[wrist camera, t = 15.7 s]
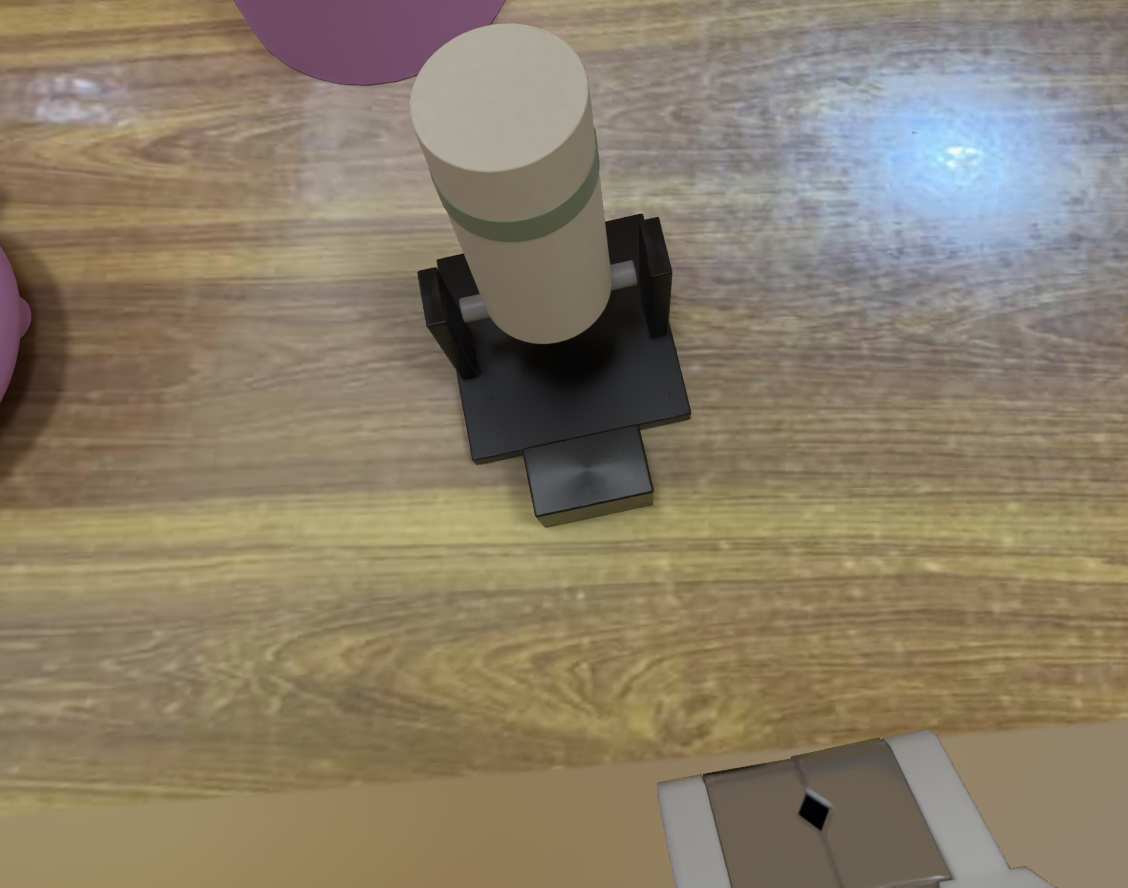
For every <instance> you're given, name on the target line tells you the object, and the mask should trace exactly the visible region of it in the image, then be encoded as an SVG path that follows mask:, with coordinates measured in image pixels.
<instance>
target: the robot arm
mask: <svg viewBox="0 0 1128 888" xmlns="http://www.w3.org/2000/svg"><path fill="white" fill-rule="evenodd" d="M657 791H658V801H659V806H660V811H661V815H662V821H663V826H664V831H665V836H666V842H667V847H668V851H669V857H670V861H671V867H672V872H673V877H674V882H675V887H676V888H1057V887H1055V886H1053V885H1052V884H1051V883H1049V882H1048V881H1046V880H1045V879H1044V878H1042V877H1041V876H1039V875H1038V874H1036V873H1035V872H1033V871H1032V870H1030V869H1029V868H1028V867H1026V866H1024V867H1017V868H1010V866H1009V865H1008V863H1007V861H1006V859H1005V857H1004V855H1003V854H1002V852H1001V850H1000V848H999V846H998V845H997V843H996V841H995V839H994V837H993V836H992V834H991V832H990V830H989V828H988V827H987V825H986V823H985V821H984V819H983V817H982V816H981V814H980V812H979V810H978V809H977V806H976V805H975V803H974V801H973V799H972V798H971V796H970V794H969V792H968V790H967V788H966V787H965V785H964V783H963V781H962V779H961V778H960V776H959V774H958V772H957V770H956V768H955V767H954V765H953V763H952V761H951V759H950V758H949V756H948V754H947V752H946V750H945V748H944V747H943V745H942V743H941V741H940V739H939V738H938V736H937V735H935V734H934V733H933V732H932V731H931V730H930V729H923V730H919V731H914V732H910V733H905V734H901V735H896V736H891V737H887V738H883V739H880V738H874V739H870V740H865V741H861V742H856V743H851V744H847V745H842V746H837V747H833V748H828V749H824V750H819V751H814V752H810V753H805V754H801V755H796V756H792V757H791V759H786V760H779V761H774V762H768V763H762V764H757V765H751V766H745V767H740V768H734V769H728V770H723V771H717V772H712V773H706V774H703V777H702V775H701V774H699V775H694V776H689V777H684V778H679V779H674V780H669V781H663V782H658V783H657Z"/></svg>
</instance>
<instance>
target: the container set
mask: <svg viewBox="0 0 1128 888" xmlns="http://www.w3.org/2000/svg"><path fill="white" fill-rule="evenodd" d="M234 2H235V4H236V5H237V7H238V8H239V10H240V12H241V13H242V15H243V16H244V18H245V19H246V21H247V23H248V24H249V26H250V27H251V29H252V30H253V32H254V34H255V35H256V36H257V37H258V38H259V39H260V41H261V42H262V43H263V44H264V45H265V47H266V48H267V49H268V50H269V51H270V52H271V53H272V54H274V55H275V56H276V57H278V58H279V59H280V60H282V61H283V62H284V63H286V64H287V65H288V66H290V67H292V68H294V69H296V70H298V71H300V72H303V73H305V74H307V75H309V76H311V77H314V78H318V79H322V80H326V81H330V82H335V83H339V84H357V85H372V84H379V83H387V82H394V81H399V80H402V79H405V78H408V77H412V76H415V75H418V74H419V72H420V70H421V68H422V67H423V66H424V64H425V63H426V62H427V60H428V59H429V58H430V57H431V56H432V55H433V54H434V53H435V52H436V51H437V50H438V49H439V48H441V47H442V46H443V45H444V44H446V43H447V42H449V41H450V40H452V39H454V38H455V37H457V36H459V35H461V34H463V33H466V32H468V31H471V30H473V29H477V28H480V27H483V26H488V25H489V24H490V23H491V22H492V21H493V20H494V18H495V16H496V15H497V13H498V11H499V10H500V8H501V7H502V5H503V3H504V2H505V0H234Z"/></svg>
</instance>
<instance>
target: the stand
mask: <svg viewBox="0 0 1128 888" xmlns="http://www.w3.org/2000/svg"><path fill="white" fill-rule="evenodd" d="M605 227H606V236H607V244H608V253H609V261H610V265H613V264H617V263H622V262H626V261H631V260H632V261H633V262H634V265H635V269H636V274H637V280H638V284H637V285H634V286H630V287H625V288H621V289H616V290H612V291H611V293H610V296H609V300H608V302H607V305H606V307H605V309H604V310H603V312H602V314H601V315H600V316H599V318H598V319H597V320H596V321H595V322H594V323H593V324H592V325H591V326H590V327H589V328H587V329H586V330H585V331H583V332H582V333H580V334H578V335H577V336H575V337H572V338H570V339H568V340H564V341H561V342H556V343H550V344H537V343H530V342H525V341H522V340H519V339H516V338H514V337H512V336H510V335H508V334H507V333H505V332H504V331H502V330H501V329H500V328H499V327H498V326H497V325H496V324H495V323H494V321H493V320H492V319H491V317H490V318H485V319H481V320H476V321H472V322H467V323H465V322H464V320H463V318H462V314H461V311H460V305H459V299H461V298H465V297H469V296H474V295H478V294H480V293H479V290H478V288H477V285H476V283H475V280H474V278H473V275H472V273H471V270H470V268H469V265H468V263H467V260H466V258H465V255H464V254H459V255H455V256H451V257H446V258H442V259H437V266H438V269H437V268H436V267H434V268H429V269H425V270H420V271H418V273H417V274H418V280H419V286H420V291H421V297H422V303H423V309H424V314H425V320H426V326H427V328H428V329H429V331H430V332H431V334H432V335H433V336H434V338H435V339H436V341H437V342H438V344H439V345H440V347H441V348H442V350H443V351H444V353H445V354H446V356H447V357H448V359H449V360H450V362H451V363H452V365H453V366H454V368H455V369H456V372H457V377H458V383H459V388H460V394H461V399H462V405H463V411H464V416H465V422H466V427H467V433H468V438H469V444H470V450H471V455H472V460H473V461H474V462H475V463H476V465H479V464H483V463H488V462H492V461H497V460H502V459H506V458H511V457H516V456H520V455H523V456H524V461H525V467H526V472H527V477H528V482H529V487H530V492H531V498H532V503H533V508H534V513H535V516H536V518H537V519H538V520H539V521H540V523H541V524H542V525H543V526H544V527H551V526H556V525H560V524H565V523H570V522H575V521H579V520H584V519H589V518H594V517H598V516H603V515H608V514H612V513H617V512H622V511H627V510H631V509H636V508H641V507H645V506H650V505H652V504H653V492H654V490H653V485H652V481H651V477H650V472H649V468H648V463H647V459H646V455H645V450H644V446H643V441H642V437H641V433H640V430H641V429H646V428H650V427H655V426H660V425H664V424H669V423H673V422H678V421H683V420H687V419H690V416H691V410H690V406H689V402H688V398H687V394H686V389H685V385H684V381H683V377H682V373H681V369H680V365H679V361H678V356H677V352H676V348H675V344H674V340H673V336H672V332H671V328H670V324H669V311H670V298H671V285H672V268H671V264H670V260H669V256H668V252H667V248H666V244H665V240H664V236H663V232H662V228H661V224H660V220H659V217H655V218H650V219H646V220H644V216H643V214H637V215H633V216H628V217H624V218H620V219H615V220H611V221H606V222H605Z"/></svg>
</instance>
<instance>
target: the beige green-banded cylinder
mask: <svg viewBox="0 0 1128 888" xmlns="http://www.w3.org/2000/svg"><path fill="white" fill-rule="evenodd" d="M410 118H411V122H412V126H413V128H414V131H415V133H416V136H417V138H418V141H419V143H420V146H421V148H422V151H423V153H424V156H425V158H426V161H427V163H428V166H429V169H430V173H431V177H432V180H433V182H434V185H435V187H436V190H437V192H438V195H439V197H440V200H441V202H442V204H443V206H444V208H445V210H446V211H447V213H448V215H449V218H450V220H451V223H452V225H453V228H454V230H455V233H456V235H457V238H458V240H459V243H460V245H461V248H462V250H463V253H464V255H465V258H466V260H467V263H468V265H469V268H470V270H471V273H472V275H473V278H474V280H475V283H476V285H477V288H478V290H479V293H480V294H478V295H474V296H469V297H465V298H461V299H459V305H460V311H461V314H462V318H463V320H464V322H465V323H467V322H472V321H476V320H481V319H485V318H490V317H491V319H492V320H493V321H494V323H495V324H496V325H497V326H498V327H499V328H500V329H501V330H502V331H504V332H505V333H507V334H508V335H510V336H512V337H514V338H516V339H519V340H522V341H525V342H530V343H537V344H550V343H556V342H561V341H564V340H568V339H570V338H572V337H575V336H577V335H578V334H580V333H582V332H583V331H585V330H586V329H587V328H589V327H590V326H591V325H592V324H593V323H594V322H595V321H596V320H597V319H598V318H599V316H600V315H601V314H602V312H603V310H604V309H605V307H606V305H607V302H608V300H609V296H610V293H611V291H612V290H616V289H621V288H625V287H630V286H634V285H637V284H638V280H637V274H636V269H635V265H634V262H633V261H632V260H631V261H626V262H622V263H617V264H613V265H610V261H609V253H608V244H607V236H606V227H605V219H604V210H603V201H602V193H601V184H600V176H599V154H598V145H597V137H596V131H595V128H594V125H593V116H592V108H591V99H590V91H589V83H588V77H587V73H586V70H585V67H584V65H583V63H582V61H581V59H580V58H579V56H578V55H577V54H576V52H575V51H574V50H573V49H572V48H571V47H570V46H569V45H568V44H567V43H566V42H565V41H563V40H562V39H561V38H559V37H558V36H556V35H554V34H552V33H551V32H549V31H546V30H543V29H541V28H538V27H534V26H530V25H524V24H511V23H505V24H494V25H489V26H483V27H480V28H477V29H473V30H471V31H468V32H466V33H463V34H461V35H459V36H457V37H455V38H454V39H452V40H450V41H449V42H447V43H446V44H444V45H443V46H442V47H441V48H439V49H438V50H437V51H436V52H435V53H434V54H433V55H432V56H431V57H430V58H429V59H428V60H427V62H426V63H425V64H424V66H423V67H422V68H421V70H420V72H419V74H418V75H417V77H416V80H415V82H414V85H413V88H412V92H411V96H410Z"/></svg>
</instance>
